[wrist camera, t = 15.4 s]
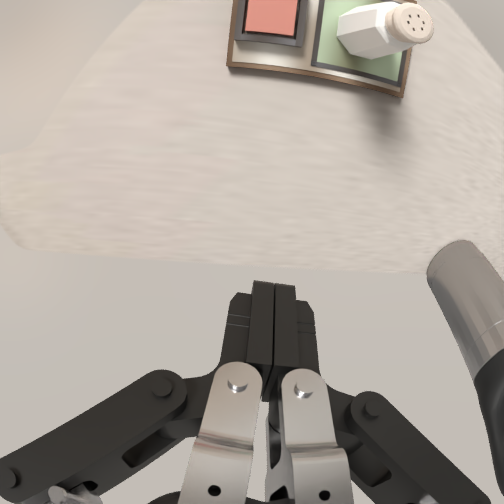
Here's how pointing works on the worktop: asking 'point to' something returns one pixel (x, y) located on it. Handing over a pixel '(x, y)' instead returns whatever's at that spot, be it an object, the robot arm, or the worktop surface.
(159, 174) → the worktop surface
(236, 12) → the metal control panel
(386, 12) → the pepper shaker
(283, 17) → the button
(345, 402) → the robot arm
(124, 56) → the worktop surface
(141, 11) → the worktop surface
